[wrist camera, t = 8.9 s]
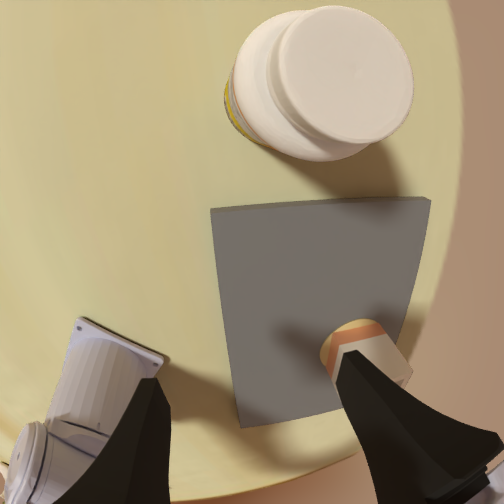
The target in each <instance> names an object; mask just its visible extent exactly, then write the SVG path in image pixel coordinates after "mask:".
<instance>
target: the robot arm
mask: <svg viewBox="0 0 504 504" xmlns="http://www.w3.org/2000/svg"><path fill="white" fill-rule="evenodd" d="M79 326H80V327H81V328H80V327H79ZM156 363H157V364H156ZM163 363H164V358H163V356H161V355H159V354H156V353H154V352H152V351H150V350H147V349H145V348H143V347H141V346H138V345H136V344H134V343H132V342H130V341H128V340H125V339H123V338H121V337H119V336H117V335H115V334H113V333H111V332H109V331H107V330H105V329H103V328H101V327H99V326H97V325H95V324H94V323H92V322H90V321H88V320H86V319H84V318H82V317H78V318H77V320H76V322H75V325H74V328H73V332H72V335H71V339H70V342H69V346H68V349H67V353H66V357H65V361H64V365H63V369H62V374H61V377H60V379H59V382H58V384H57V387H56V390H55V392H54V395H53V398H52V401H51V404H50V407H49V409H48V412H47V416H46V419H45V422H44V423H43V424H42V423H40V422H38V421H34V422H33V423H28V424H26V425H25V426H24V427H23V429H22V431H21V432H20V434H19V436H18V438H17V441H16V443H15V446H14V449H13V452H12V455H11V458H10V462H9V467H8V473H7V479H6V483H5V487H4V498H5V504H170V494H169V477H168V475H169V456H170V441H171V412H170V405H169V403H168V401H167V399H166V397H165V395H164V393H163V390H162V388H161V386H160V384H159V382H158V379H157V378H153V377H154V376H155V374H156V373H157V372H158V370H159V369H160V367H161V366H162V365H163ZM335 384H336V387H337V390H338V394H339V397H340V400H341V403H342V405H343V408H344V410H345V412H346V414H347V416H348V418H349V420H350V423H351V425H352V427H353V429H354V431H355V433H356V435H357V437H358V439H359V441H360V444H361V446H362V448H363V451H364V453H365V456H366V459H367V463H368V466H369V469H370V472H371V476H372V480H373V483H374V487H375V492H376V496H377V501H378V504H504V460H503V461H502V462H501V463H499V464H498V465H497V466H496V467H495V468H493V469H492V470H491V471H489V472H488V473H487V474H485V471H486V470H487V466H486V465H487V464H488V463H489V462H490V461H491V460H493V459H494V458H495V457H496V456H497V455H498V454H499V453H500V452H501V451H502V450H504V444H503V442H502V441H501V439H500V437H499V436H498V434H497V433H495V432H491V431H487V430H483V429H479V428H476V427H473V426H470V425H467V424H464V423H461V422H459V421H457V420H454V419H452V418H450V417H448V416H446V415H443V414H441V413H439V412H437V411H436V410H434V409H432V408H430V407H429V406H427V405H426V404H424V403H422V402H421V401H419V400H418V399H416V398H415V397H413V396H412V395H411V394H409V393H408V392H407V391H405V390H404V389H403V388H401V387H400V386H399V385H397V384H396V383H395V382H394V381H393V380H391V379H390V378H389V377H388V376H387V375H385V374H384V373H383V372H382V371H381V370H380V369H378V368H377V367H376V366H375V365H374V364H373V363H372V362H371V361H369V360H368V359H367V358H366V357H365V356H364V355H363V354H362V353H360V352H359V351H358V350H353V351H349V352H345V353H343V356H342V360H341V364H340V368H339V372H338V376H337V380H336V383H335Z"/></svg>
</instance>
